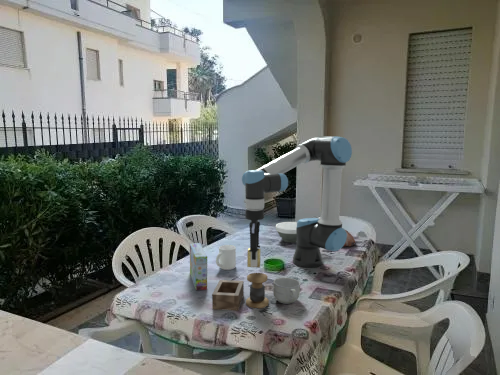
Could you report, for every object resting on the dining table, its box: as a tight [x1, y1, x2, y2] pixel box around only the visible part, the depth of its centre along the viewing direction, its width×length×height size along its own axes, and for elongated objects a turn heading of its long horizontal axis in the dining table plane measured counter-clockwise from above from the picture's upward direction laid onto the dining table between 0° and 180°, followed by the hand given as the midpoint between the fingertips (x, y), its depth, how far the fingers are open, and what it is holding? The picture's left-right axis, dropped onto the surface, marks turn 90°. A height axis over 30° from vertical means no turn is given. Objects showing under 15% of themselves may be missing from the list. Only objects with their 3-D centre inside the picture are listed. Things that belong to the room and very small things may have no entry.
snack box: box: [189, 242, 208, 291], centre depth 165 cm, size 21×6×15 cm, turn 17°
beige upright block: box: [246, 247, 262, 268], centre depth 149 cm, size 5×3×9 cm, turn 83°
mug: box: [215, 244, 237, 271], centre depth 181 cm, size 12×8×10 cm
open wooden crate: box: [211, 279, 245, 312], centre depth 145 cm, size 10×14×6 cm
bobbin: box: [245, 272, 270, 310], centre depth 143 cm, size 9×9×11 cm
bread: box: [342, 229, 356, 248], centre depth 222 cm, size 16×20×10 cm
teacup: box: [272, 276, 302, 305], centre depth 144 cm, size 14×11×8 cm
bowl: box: [275, 221, 297, 244], centre depth 228 cm, size 20×20×10 cm
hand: (254, 264), depth 150 cm, fingers closed on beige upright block, 3 cm apart
